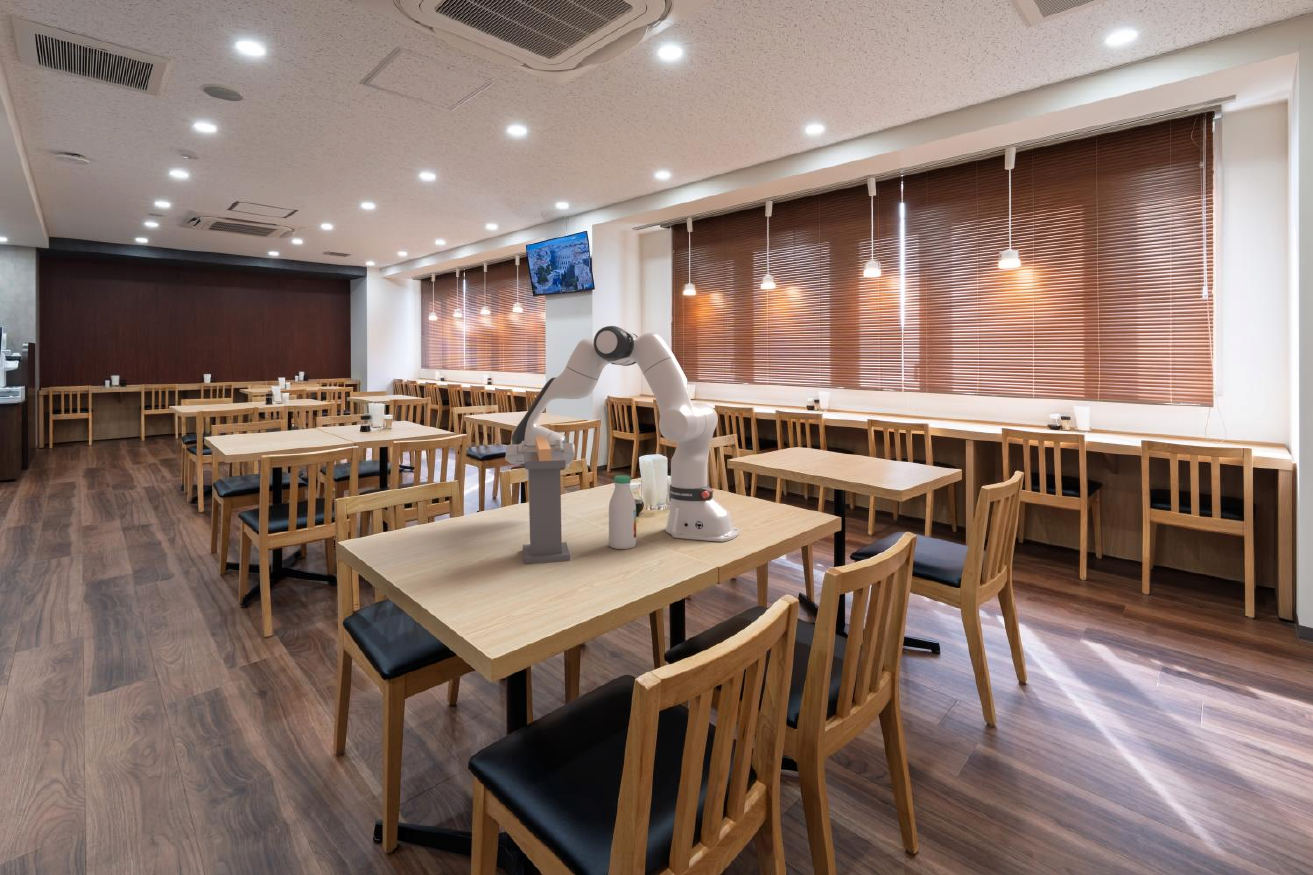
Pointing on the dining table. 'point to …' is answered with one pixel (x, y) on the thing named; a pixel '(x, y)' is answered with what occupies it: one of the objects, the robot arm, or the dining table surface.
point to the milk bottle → (622, 515)
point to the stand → (545, 509)
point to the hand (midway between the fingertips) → (541, 442)
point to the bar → (543, 448)
